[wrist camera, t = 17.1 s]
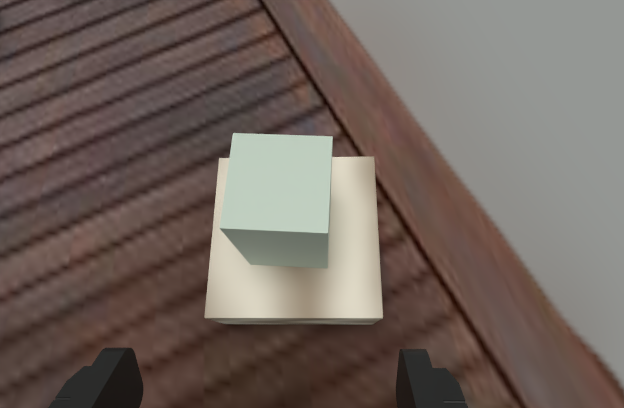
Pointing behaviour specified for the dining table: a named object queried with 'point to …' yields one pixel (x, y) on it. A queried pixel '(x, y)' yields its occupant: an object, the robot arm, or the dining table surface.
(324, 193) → the sage block
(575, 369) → the dining table surface
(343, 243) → the birch block
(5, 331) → the dining table surface
